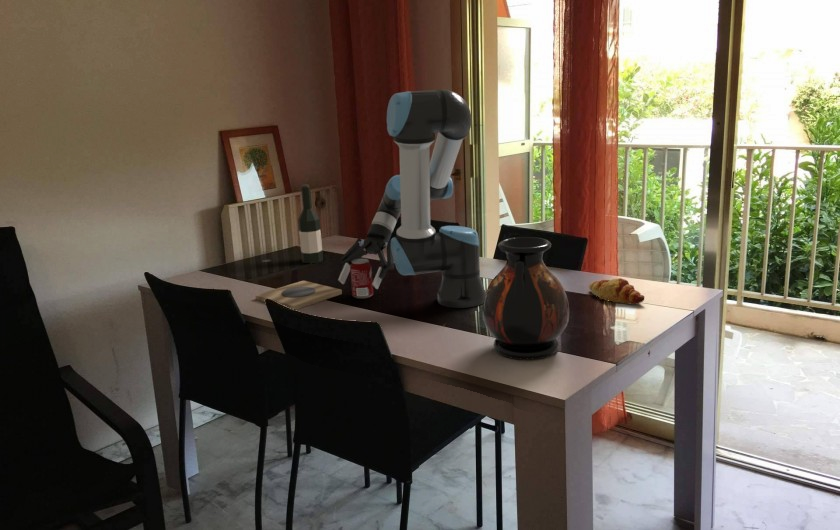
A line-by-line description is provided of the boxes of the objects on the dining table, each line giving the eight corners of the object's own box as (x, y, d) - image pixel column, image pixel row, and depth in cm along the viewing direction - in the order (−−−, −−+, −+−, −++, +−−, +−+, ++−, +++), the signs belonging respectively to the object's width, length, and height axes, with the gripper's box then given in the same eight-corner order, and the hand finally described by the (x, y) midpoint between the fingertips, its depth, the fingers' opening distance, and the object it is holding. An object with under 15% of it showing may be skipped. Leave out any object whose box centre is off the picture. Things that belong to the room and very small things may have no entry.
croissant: (583, 303, 229) (574, 284, 226) (603, 283, 233) (594, 264, 229) (637, 318, 212) (629, 298, 208) (657, 296, 216) (649, 276, 212)
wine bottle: (321, 263, 281) (314, 186, 274) (300, 264, 282) (292, 187, 274) (324, 257, 289) (317, 182, 282) (303, 258, 290) (296, 183, 282)
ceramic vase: (492, 332, 199) (489, 231, 191) (573, 336, 192) (573, 232, 185) (475, 363, 179) (471, 252, 172) (564, 368, 173) (564, 254, 165)
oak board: (341, 293, 241) (341, 288, 240) (293, 310, 227) (293, 304, 226) (303, 284, 254) (303, 279, 254) (255, 299, 240) (255, 294, 239)
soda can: (370, 299, 233) (367, 263, 230) (350, 299, 234) (347, 263, 231) (375, 293, 239) (373, 258, 236) (355, 293, 241) (353, 258, 238)
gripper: (418, 237, 238) (394, 294, 230) (357, 232, 252) (333, 285, 243) (408, 225, 233) (384, 282, 224) (346, 220, 246) (321, 274, 238)
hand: (357, 284), depth 234 cm, fingers open, 13 cm apart
